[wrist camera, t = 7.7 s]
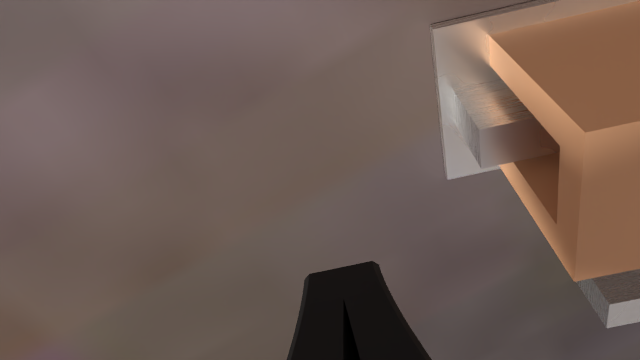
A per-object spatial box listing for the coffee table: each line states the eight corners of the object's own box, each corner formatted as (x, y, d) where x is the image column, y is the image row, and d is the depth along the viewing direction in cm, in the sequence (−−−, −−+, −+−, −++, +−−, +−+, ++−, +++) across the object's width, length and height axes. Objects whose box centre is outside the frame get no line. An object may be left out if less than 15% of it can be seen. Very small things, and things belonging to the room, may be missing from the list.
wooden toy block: (652, 261, 21) (694, 311, 19) (573, 277, 21) (606, 328, 19) (656, 237, 20) (701, 286, 18) (575, 254, 20) (609, 304, 18)
